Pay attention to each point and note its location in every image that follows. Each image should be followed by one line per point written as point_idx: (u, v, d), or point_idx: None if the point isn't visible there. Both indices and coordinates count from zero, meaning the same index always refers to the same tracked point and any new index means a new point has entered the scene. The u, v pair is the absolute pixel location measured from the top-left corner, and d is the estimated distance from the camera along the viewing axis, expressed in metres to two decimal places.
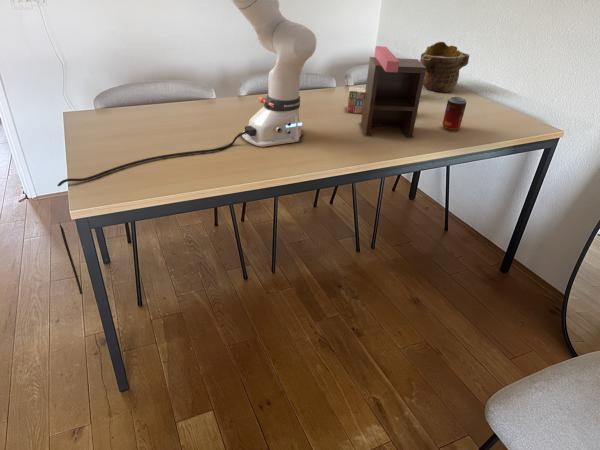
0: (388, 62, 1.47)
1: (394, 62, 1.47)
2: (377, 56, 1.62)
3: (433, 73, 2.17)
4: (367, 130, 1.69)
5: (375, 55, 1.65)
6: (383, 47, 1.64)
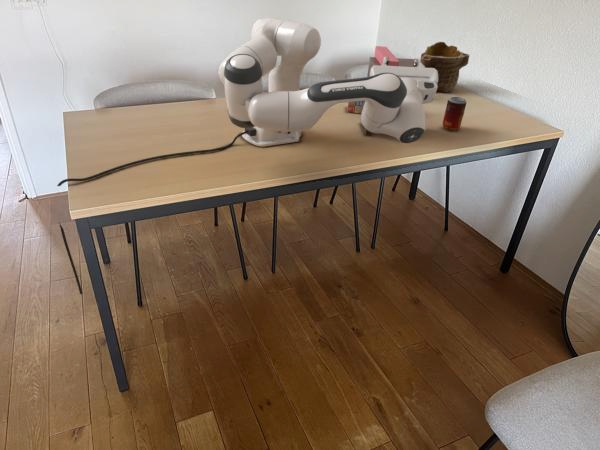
0: None
1: (394, 62, 1.47)
2: (377, 56, 1.62)
3: None
4: None
5: (375, 55, 1.65)
6: (383, 47, 1.64)
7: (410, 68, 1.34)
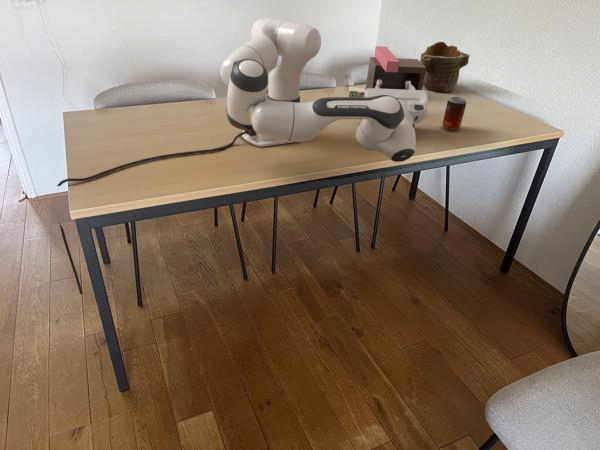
0: (388, 62, 1.47)
1: (394, 62, 1.47)
2: (377, 56, 1.62)
3: (433, 73, 2.17)
4: None
5: (375, 55, 1.65)
6: (383, 47, 1.64)
7: (401, 91, 1.43)
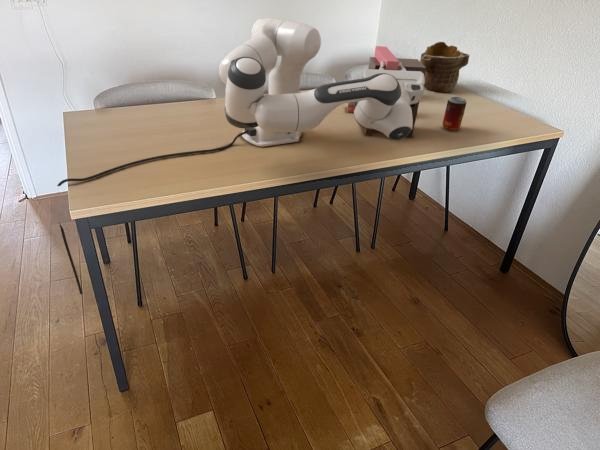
0: (388, 62, 1.47)
1: (394, 62, 1.47)
2: (377, 56, 1.62)
3: (433, 73, 2.17)
4: (367, 130, 1.69)
5: (375, 55, 1.65)
6: (383, 47, 1.64)
7: (399, 71, 1.46)
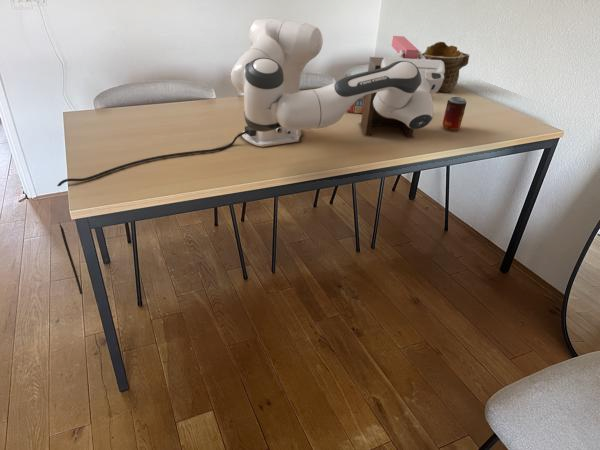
0: (407, 50, 1.45)
1: (413, 51, 1.45)
2: (395, 46, 1.60)
3: None
4: (367, 130, 1.69)
5: (392, 45, 1.63)
6: (401, 37, 1.62)
7: (418, 60, 1.44)
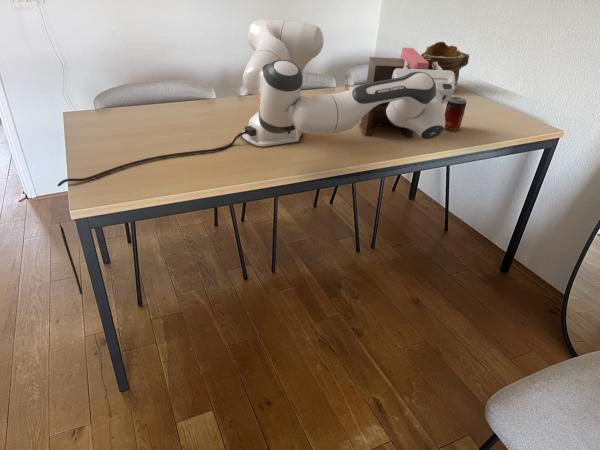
0: (418, 63, 1.48)
1: (424, 63, 1.48)
2: (404, 57, 1.62)
3: None
4: (367, 130, 1.69)
5: (402, 56, 1.66)
6: (410, 48, 1.64)
7: (429, 71, 1.46)
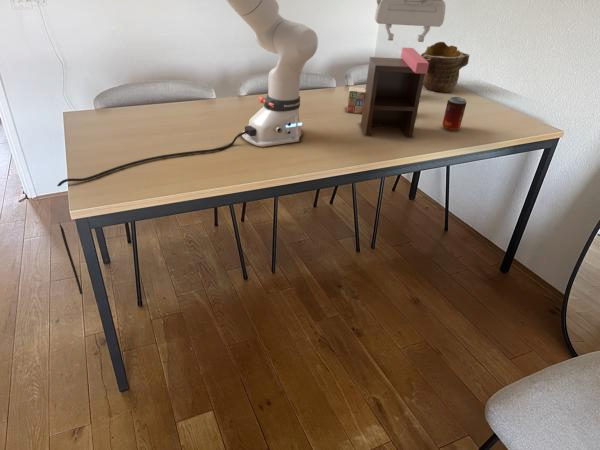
0: (418, 63, 1.48)
1: (424, 63, 1.48)
2: (404, 57, 1.62)
3: (433, 73, 2.17)
4: (367, 130, 1.69)
5: (402, 56, 1.66)
6: (410, 48, 1.64)
7: None
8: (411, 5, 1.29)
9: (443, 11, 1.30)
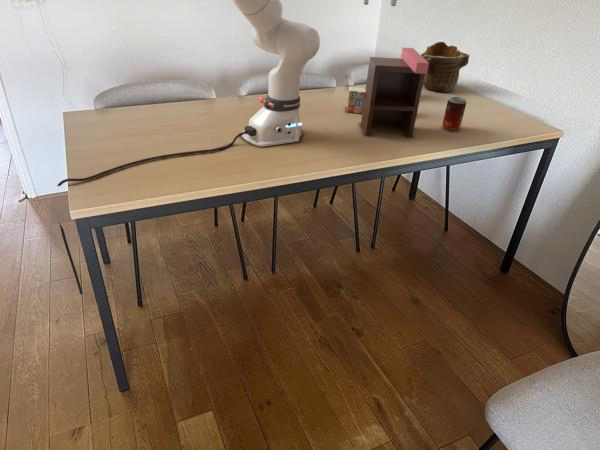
0: (418, 63, 1.48)
1: (424, 63, 1.48)
2: (404, 57, 1.62)
3: (433, 73, 2.17)
4: (367, 130, 1.69)
5: (402, 56, 1.66)
6: (410, 48, 1.64)
7: None
8: None
9: None
